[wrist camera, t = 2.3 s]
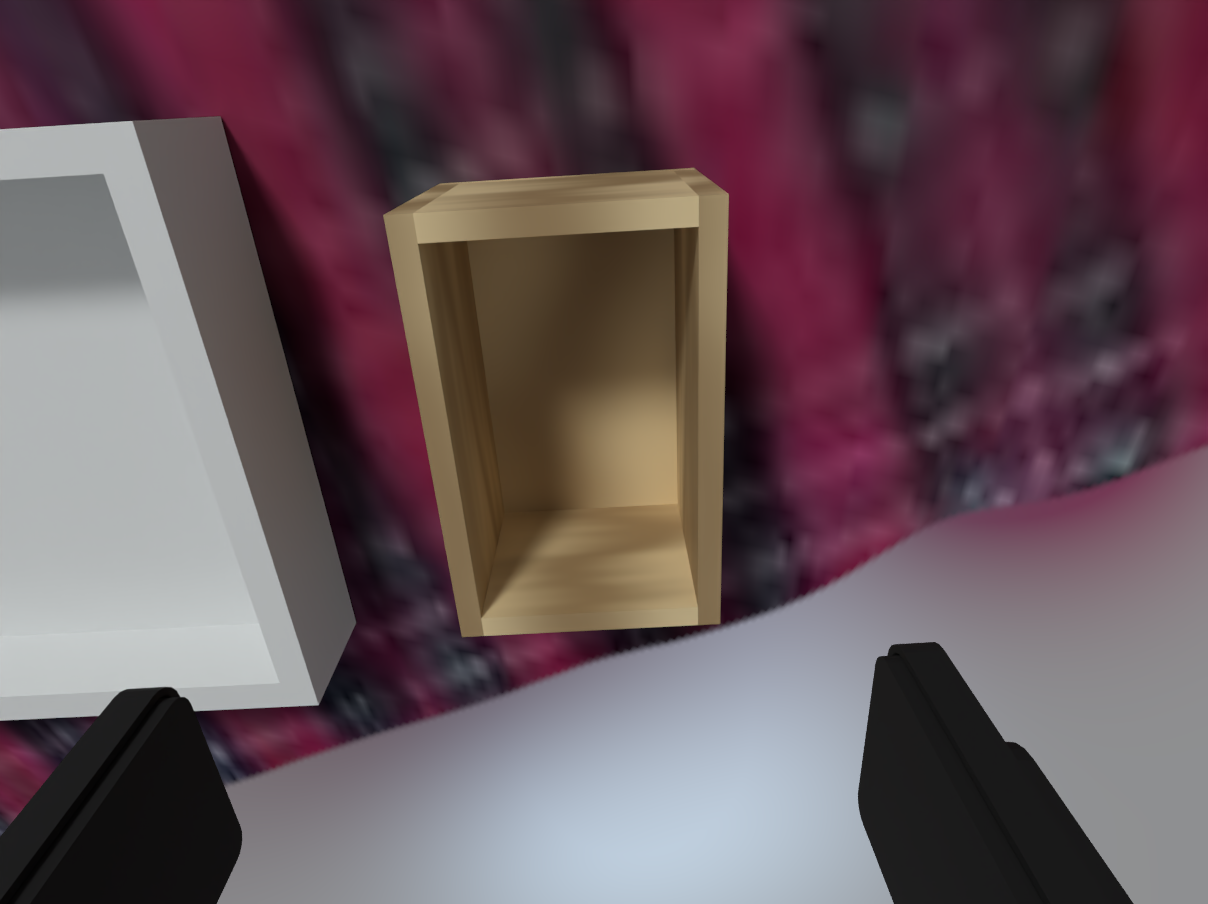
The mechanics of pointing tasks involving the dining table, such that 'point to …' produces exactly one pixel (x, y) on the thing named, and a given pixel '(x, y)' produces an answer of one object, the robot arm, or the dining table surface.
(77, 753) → the robot arm
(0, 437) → the white tray
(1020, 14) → the dining table surface
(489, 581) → the pine crate
